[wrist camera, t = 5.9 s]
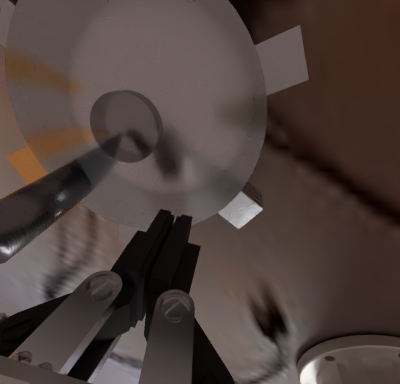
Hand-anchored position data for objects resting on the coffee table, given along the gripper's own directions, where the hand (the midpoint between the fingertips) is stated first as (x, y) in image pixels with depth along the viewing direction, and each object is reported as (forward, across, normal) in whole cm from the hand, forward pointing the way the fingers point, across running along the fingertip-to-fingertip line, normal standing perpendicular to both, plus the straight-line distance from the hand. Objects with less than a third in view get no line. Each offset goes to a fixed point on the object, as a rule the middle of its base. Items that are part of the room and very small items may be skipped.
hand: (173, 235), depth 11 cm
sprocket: (+3, +3, -5) cm, 6 cm away
